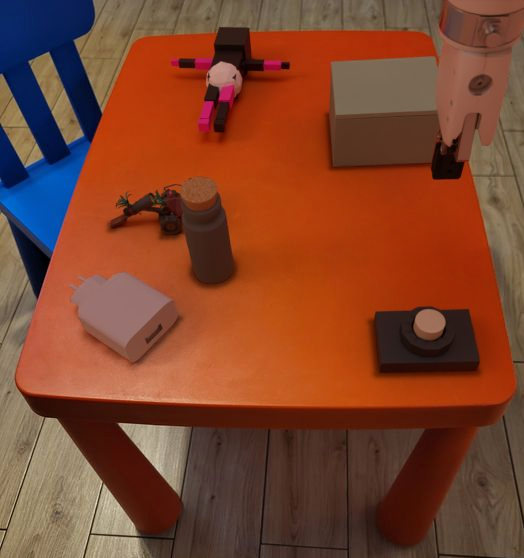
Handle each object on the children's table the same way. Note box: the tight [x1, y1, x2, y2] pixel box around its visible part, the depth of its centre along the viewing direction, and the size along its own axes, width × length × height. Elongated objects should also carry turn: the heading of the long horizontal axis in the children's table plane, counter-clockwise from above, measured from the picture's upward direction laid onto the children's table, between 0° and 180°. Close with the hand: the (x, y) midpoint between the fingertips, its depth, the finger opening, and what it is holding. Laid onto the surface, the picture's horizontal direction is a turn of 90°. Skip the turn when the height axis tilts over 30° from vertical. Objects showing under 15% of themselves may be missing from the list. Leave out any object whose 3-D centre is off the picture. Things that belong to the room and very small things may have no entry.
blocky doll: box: [170, 26, 291, 134], centre depth 107 cm, size 22×25×6 cm
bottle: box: [179, 176, 235, 285], centre depth 81 cm, size 6×6×15 cm
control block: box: [373, 305, 481, 373], centre depth 77 cm, size 12×8×4 cm, turn 89°
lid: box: [330, 55, 438, 119], centre depth 93 cm, size 16×14×1 cm
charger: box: [68, 271, 179, 363], centre depth 82 cm, size 5×9×15 cm
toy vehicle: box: [109, 177, 192, 236], centre depth 91 cm, size 7×15×8 cm, turn 94°
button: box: [413, 309, 445, 341], centre depth 75 cm, size 4×4×2 cm
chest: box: [328, 72, 440, 168], centre depth 98 cm, size 16×14×9 cm
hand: (445, 174), depth 70 cm, fingers closed
